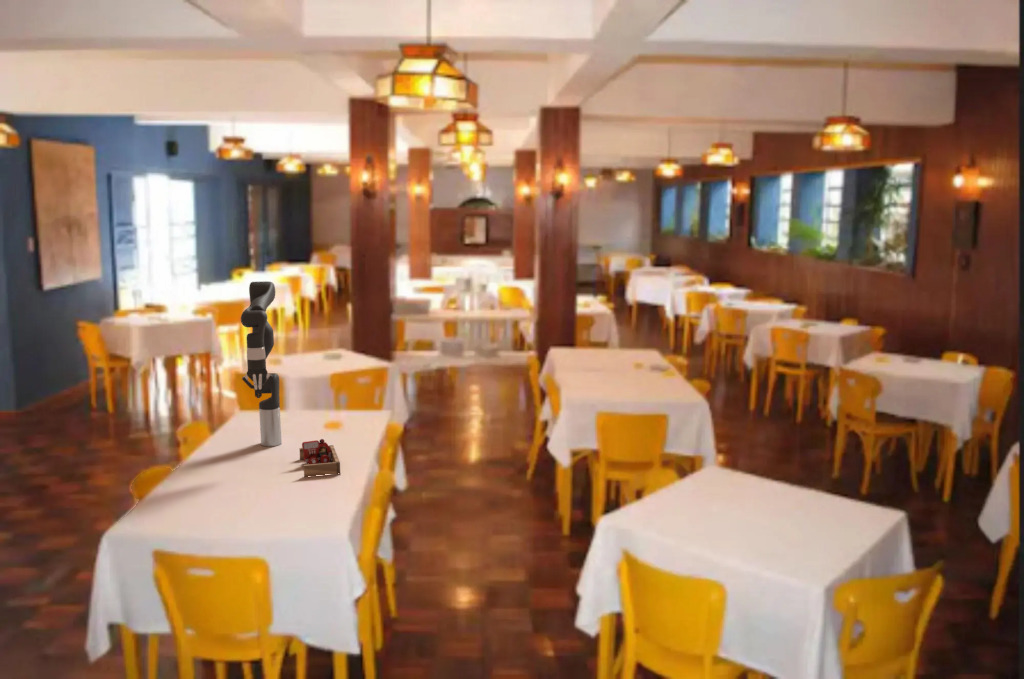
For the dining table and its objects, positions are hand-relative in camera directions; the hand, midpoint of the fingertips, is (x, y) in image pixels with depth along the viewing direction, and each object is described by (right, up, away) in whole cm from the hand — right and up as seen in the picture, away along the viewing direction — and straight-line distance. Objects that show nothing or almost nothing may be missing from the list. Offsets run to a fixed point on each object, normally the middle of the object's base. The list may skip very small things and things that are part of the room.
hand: (258, 397), depth 385 cm
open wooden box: (+26, -29, 0) cm, 39 cm away
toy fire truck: (+24, -29, +5) cm, 38 cm away
